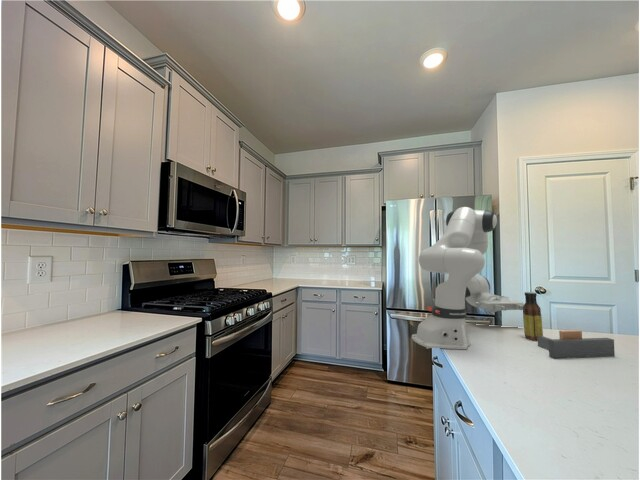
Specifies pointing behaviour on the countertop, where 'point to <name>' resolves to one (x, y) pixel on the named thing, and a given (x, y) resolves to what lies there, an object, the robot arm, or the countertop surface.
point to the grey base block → (577, 347)
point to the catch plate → (570, 334)
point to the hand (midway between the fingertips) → (514, 308)
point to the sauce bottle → (532, 317)
